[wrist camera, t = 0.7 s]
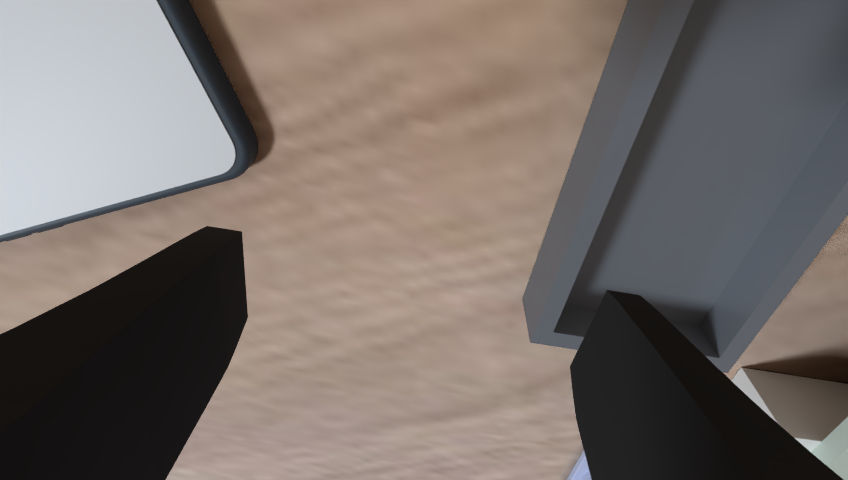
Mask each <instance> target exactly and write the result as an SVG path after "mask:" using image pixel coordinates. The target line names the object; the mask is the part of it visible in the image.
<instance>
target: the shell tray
mask: <svg viewBox="0 0 848 480" xmlns="http://www.w3.org/2000/svg"><path fill="white" fill-rule="evenodd" d="M847 215H848V0H628V3H627V6H626V8H625V11H624V14H623V17H622V20H621V23H620V25H619V28H618V31H617V34H616V37H615V39H614V42H613V45H612V48H611V51H610V54H609V56H608V59H607V62H606V65H605V68H604V70H603V73H602V76H601V79H600V82H599V85H598V87H597V90H596V93H595V96H594V99H593V101H592V104H591V107H590V110H589V113H588V116H587V118H586V121H585V124H584V127H583V130H582V132H581V135H580V138H579V141H578V144H577V147H576V149H575V152H574V155H573V158H572V161H571V163H570V166H569V169H568V172H567V175H566V178H565V180H564V183H563V186H562V189H561V192H560V194H559V197H558V200H557V203H556V206H555V209H554V211H553V214H552V217H551V220H550V223H549V225H548V228H547V231H546V234H545V237H544V240H543V242H542V245H541V248H540V251H539V254H538V256H537V259H536V262H535V265H534V268H533V271H532V273H531V276H530V279H529V282H528V285H527V287H526V290H525V293H524V296H523V305H524V311H525V316H526V322H527V327H528V333H529V339H530V342H531V343H537V344H544V345H550V346H557V347H563V348H570V349H576V350H578V349H579V347H580V345H581V343H582V341H583V339H584V337H585V334H586V332H587V330H588V328H589V326H590V324H591V322H592V320H593V318H594V316H595V314H596V311H597V309H598V307H599V305H600V303H601V301H602V299H603V297H604V295H605V293H606V290H611V291H617V292H624V293H630V294H636V295H640V296H641V297H643V298H644V299H645V300H646V301H647V302H649V303H650V304H651V305H652V306H653V307H654V308H655V309H656V310H658V311H659V312H660V313H661V314H662V315H663V316H664V317H665V318H666V319H667V320H668V321H669V322H670V323H671V324H672V325H674V326H675V327H676V328H677V329H678V330H679V331H680V332H681V333H682V334H683V335H684V336H685V337H686V338H687V339H688V340H689V341H690V342H691V343H692V344H693V345H694V346H695V347H696V348H697V349H698V350H699V351H701V352H702V353H703V354H704V355H705V356H706V357H707V358H708V359H709V360H710V361H711V362H712V363H713V364H714V365H715V366H716V367H717V368H718V369H719V370H720V371H721V372H726V373H728V372H729V371H730V369H731V368H732V367H733V365H734V364H735V363H736V361H737V360H738V359H739V357H740V356H741V355H742V353H743V352H744V351H745V349H746V348H747V347H748V345H749V344H750V343H751V342H752V340H753V339H754V338H755V336H756V335H757V334H758V332H759V331H760V330H761V328H762V327H763V326H764V324H765V323H766V322H767V320H768V319H769V318H770V316H771V315H772V314H773V312H774V311H775V310H776V308H777V307H778V306H779V305H780V303H781V302H782V301H783V299H784V298H785V297H786V295H787V294H788V293H789V291H790V290H791V289H792V287H793V286H794V285H795V283H796V282H797V281H798V279H799V278H800V277H801V275H802V274H803V273H804V271H805V270H806V269H807V268H808V266H809V265H810V264H811V262H812V261H813V260H814V258H815V257H816V256H817V254H818V253H819V252H820V250H821V249H822V248H823V246H824V245H825V244H826V242H827V241H828V240H829V238H830V237H831V236H832V234H833V233H834V232H835V231H836V229H837V228H838V227H839V225H840V224H841V223H842V221H843V220H844V219H845V217H846V216H847Z"/></svg>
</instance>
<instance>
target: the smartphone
mask: <svg viewBox="0 0 848 480" xmlns="http://www.w3.org/2000/svg"><path fill="white" fill-rule="evenodd" d="M257 151H258V142H257V137H256V134H255V132H254V130H253V128H252V126H251V124H250V122H249V120H248V118H247V116H246V114H245V112H244V110H243V108H242V106H241V104H240V102H239V100H238V98H237V96H236V94H235V92H234V90H233V88H232V86H231V84H230V82H229V80H228V78H227V76H226V74H225V72H224V70H223V68H222V66H221V64H220V62H219V60H218V58H217V56H216V54H215V52H214V50H213V48H212V46H211V44H210V42H209V40H208V38H207V36H206V34H205V32H204V30H203V28H202V26H201V24H200V22H199V20H198V18H197V16H196V14H195V12H194V10H193V8H192V6H191V4H190V2H189V0H0V242H3V241H10V240H14V239H17V238H21V237H25V236H28V235H31V234H32V233H36V232H38V233H39V232H43V231H47V230H51V229H54V228H58V227H61V226H64V225H66V224H69V223H73V222H77V221H80V220H84V219H88V218H91V217H95V216H99V215H102V214H106V213H110V212H113V211H117V210H121V209H124V208H128V207H132V206H135V205H139V204H143V203H146V202H150V201H154V200H158V199H161V198H165V197H169V196H172V195H176V194H180V193H183V192H187V191H191V190H194V189H198V188H202V187H205V186H209V185H213V184H216V183H220V182H224V181H227V180H231V179H234V178H236V177H238V176H240V175H241V174H243V173H244V172H245V171H246V170H247V169H248V167H249V166H250V165H251V164H252V163H253V161H254V159H255V157H256V155H257Z"/></svg>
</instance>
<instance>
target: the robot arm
mask: <svg viewBox="0 0 848 480" xmlns="http://www.w3.org/2000/svg"><path fill="white" fill-rule="evenodd" d="M247 318H248V314H247V299H246V285H245V271H244V256H243V242H242V232H241V231H234V230H228V229H222V228H216V227H209V226H206V227H204V228H202V229H200V230H198V231H196V232H194V233H193V234H191V235H189V236H187V237H185V238H183V239H181V240H180V241H178V242H176V243H174V244H172V245H171V246H169V247H167V248H165V249H164V250H162V251H160V252H158V253H156V254H155V255H153V256H151V257H149V258H148V259H146V260H144V261H142V262H140V263H139V264H137V265H135V266H133V267H131V268H129V269H128V270H126V271H124V272H122V273H120V274H118V275H117V276H115V277H113V278H111V279H109V280H108V281H106V282H104V283H102V284H100V285H98V286H97V287H95V288H93V289H91V290H89V291H87V292H85V293H83V294H81V295H79V296H77V297H75V298H73V299H71V300H69V301H67V302H65V303H63V304H61V305H59V306H57V307H55V308H53V309H51V310H49V311H47V312H45V313H43V314H41V315H39V316H37V317H35V318H33V319H31V320H29V321H27V322H25V323H23V324H21V325H19V326H17V327H15V328H13V329H11V330H9V331H7V332H5V333H2V334H0V480H165V479H166V478H167V476H168V474H169V472H170V470H171V469H172V467H173V465H174V463H175V462H176V460H177V458H178V456H179V454H180V453H181V451H182V449H183V447H184V445H185V444H186V442H187V440H188V438H189V437H190V435H191V433H192V431H193V429H194V428H195V426H196V424H197V422H198V420H199V419H200V417H201V415H202V413H203V412H204V410H205V408H206V406H207V404H208V403H209V401H210V399H211V397H212V395H213V393H214V392H215V390H216V388H217V386H218V384H219V383H220V381H221V379H222V377H223V375H224V373H225V371H226V370H227V368H228V366H229V363H230V361H231V358H232V356H233V354H234V351H235V349H236V346H237V344H238V341H239V339H240V336H241V334H242V331H243V328H244V326H245V323H246V321H247ZM570 370H571V380H572V389H573V398H574V405H575V413H576V419H577V423H578V428H579V432H580V436H581V440H582V444H583V448H584V451H583V453H582V454H581V456H580V458H579V460H578V461H577V463H576V465H575V466H574V468H573V470H572V471H571V473H570V475H569V477H568V478H567V480H844V479H842V478H841V477H840V476H839V475H838V474H836V473H835V472H834V471H833V470H831V469H830V468H829V467H828V466H827V465H825V464H824V463H823V462H822V461H821V460H819V459H818V458H817V457H816V456H815V455H813V454H812V453H811V452H810V451H809V450H808V449H807V448H805V447H804V446H803V445H802V444H801V443H800V442H799V441H797V440H796V439H795V438H794V437H793V436H792V435H790V434H789V433H788V432H787V431H786V430H785V429H784V428H782V427H781V426H780V425H779V424H778V423H777V422H776V421H774V420H773V419H772V418H771V417H770V416H769V415H768V414H767V413H766V412H764V411H763V410H762V409H761V408H760V407H759V406H758V405H757V404H756V403H755V402H753V401H752V400H751V399H750V398H749V397H748V396H747V395H746V394H745V393H744V392H743V391H742V390H740V389H739V388H738V387H737V386H736V385H735V384H734V383H733V382H732V381H731V380H730V379H729V378H728V377H727V376H726V375H725V374H723V373H722V372H721V371H720V370H719V369H718V368H717V367H716V366H715V365H714V364H713V363H712V362H711V361H710V360H709V359H708V358H707V357H706V356H705V355H704V354H703V353H702V352H701V351H699V350H698V349H697V348H696V347H695V346H694V345H693V344H692V343H691V342H690V341H689V340H688V339H687V338H686V337H685V336H684V335H683V334H682V333H681V332H680V331H679V330H678V329H677V328H676V327H675V326H674V325H672V324H671V323H670V322H669V321H668V320H667V319H666V318H665V317H664V316H663V315H662V314H661V313H660V312H659V311H658V310H656V309H655V308H654V307H653V306H652V305H651V304H650V303H649V302H647V301H646V300H645V299H644V298H643V297H641V296H640V295H636V294H630V293H624V292H617V291H611V290H606V293H605V295H604V297H603V299H602V301H601V303H600V305H599V307H598V309H597V311H596V314H595V316H594V318H593V320H592V322H591V324H590V326H589V328H588V330H587V332H586V334H585V337H584V339H583V341H582V343H581V345H580V347H579V349H578V351H577V353H576V355H575V357H574V360H573V362H572V364H571V366H570Z"/></svg>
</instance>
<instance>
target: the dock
mask: <svg viewBox="0 0 848 480" xmlns="http://www.w3.org/2000/svg"><path fill="white" fill-rule="evenodd" d="M731 381H732V382H733V383H734V384H735V385H736V386H737V387H738V388H739V389H740V390H742V391H743V392H744V393H745V394H746V395H747V396H748V397H749V398H750V399H751V400H752V401H753V402H755V403H756V404H757V405H758V406H759V407H760V408H761V409H762V410H763V411H764V412H766V413H767V414H768V415H769V416H770V417H771V418H772V419H773V420H774V421H776V422H777V423H778V424H779V425H780V426H781V427H782V428H784V429H785V430H786V431H787V432H788V433H789V434H790V435H792V436H793V437H794V438H795V439H796V440H797V441H799V442H800V443H801V444H802V445H803V446H804V447H805V448H807V449H808V450H809V451H810V452H811V453H812V454H813V455H815V456H816V457H817V458H818V459H819V460H821V461H822V462H823V463H824V464H825V465H827V466H828V467H829V468H830V469H831V470H833V471H834V472H835V473H836V474H838V475H839V476H840V477H841V478H842V479H844V480H848V384H845V383H838V382H832V381H825V380H819V379H812V378H806V377H800V376H793V375H787V374H780V373H774V372H767V371H761V370H754V369H748V368H741V369H740V370H739V371H738V373H737V374H736V375H735V377H734V378H733V379H732V380H731Z"/></svg>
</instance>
